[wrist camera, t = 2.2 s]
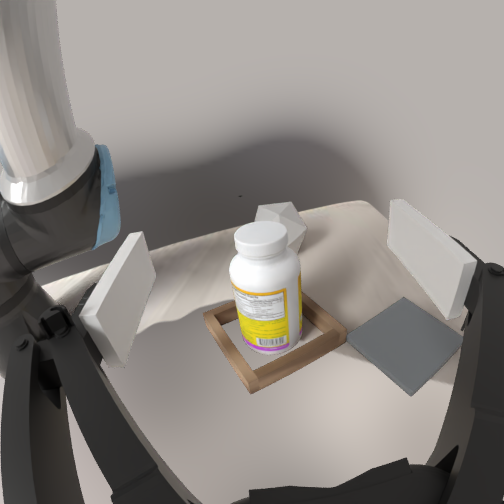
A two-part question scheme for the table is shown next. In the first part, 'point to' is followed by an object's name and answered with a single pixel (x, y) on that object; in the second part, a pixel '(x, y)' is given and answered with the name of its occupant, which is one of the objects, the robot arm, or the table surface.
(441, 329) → the slate coaster
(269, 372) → the walnut frame
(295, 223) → the die
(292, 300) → the supplement bottle
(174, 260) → the table surface
